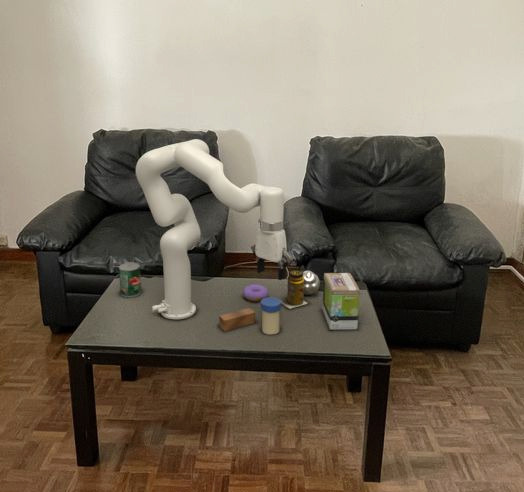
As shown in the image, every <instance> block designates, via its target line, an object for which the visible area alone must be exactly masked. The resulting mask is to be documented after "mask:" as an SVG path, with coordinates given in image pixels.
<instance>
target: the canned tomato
mask: <svg viewBox="0 0 524 492" xmlns="http://www.w3.org/2000/svg"><path fill="white" fill-rule="evenodd" d="M118 275H119V291H120V292H119V293H120V296H122V297H125V298H132V297H136V296H137V297H138V296H139V295H140V294H142V283H141V282H142V281H141V265H140V263H138V262H134V261H133V262H132V261H130V262H129V261H128V262H124V263H122V264H120V265H119V266H118Z"/></svg>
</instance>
